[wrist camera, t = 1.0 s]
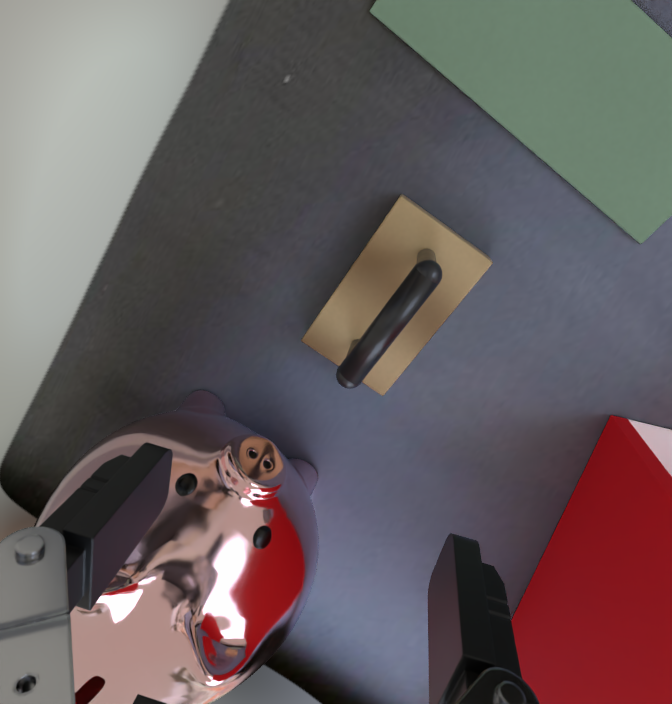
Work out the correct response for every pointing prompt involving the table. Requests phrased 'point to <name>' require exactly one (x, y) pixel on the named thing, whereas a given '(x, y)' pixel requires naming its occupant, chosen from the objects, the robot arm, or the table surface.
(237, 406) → the table surface
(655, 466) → the miniature room diorama
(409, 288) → the birch board
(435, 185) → the table surface
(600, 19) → the mat
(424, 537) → the table surface
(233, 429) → the piggy bank
